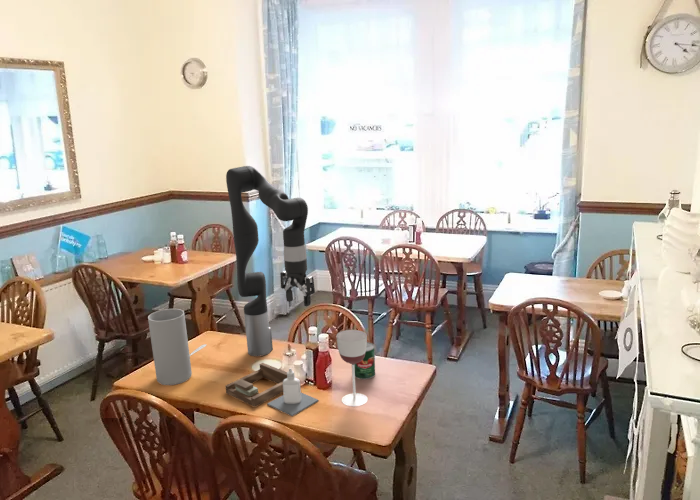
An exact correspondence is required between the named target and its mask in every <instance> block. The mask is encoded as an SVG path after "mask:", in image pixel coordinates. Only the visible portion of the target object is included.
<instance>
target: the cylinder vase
mask: <svg viewBox="0 0 700 500" xmlns="http://www.w3.org/2000/svg"><path fill="white" fill-rule="evenodd" d="M185 316H186V314H185V311H184V310H182V309H180V308H165V309H161V310H156V311H154V312H152V313H150V314H149V315H148V316H147V319H148V320H147V321H148V322H147V323H148V328H149V334H150V342H151V348H152V357H153V365H154V370H155V377H156V381H157V383H159V384H160V385H162V386H175V385H179V384H182V383H185V382H186V381H188V380H190V378H191V377H192V374H193V372H192V363H191V356H190V349H189V340H188V334H187V333H188V331H187V324H186V317H185Z"/></svg>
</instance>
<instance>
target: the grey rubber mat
mask: <svg viewBox="0 0 700 500" xmlns="http://www.w3.org/2000/svg"><path fill="white" fill-rule="evenodd" d="M319 401H320V400H319V399H318V398H316V397H313V396H311V395H308V394H306V393H304V392H301V402H300V403H296V404H287V403H285V402H284V395H280V396H278V397H277V398H275V399H273V400H271V401H269V402H267V406H269V407H271V408H273V409H275V410H278V411H280V412H281V413H284V414H286V415H288V416H291V417H294V416H296V415H297V414H300V413H301V412H303V411H304V410H307V409H308V408H310V407H311V406H313V405H314V404H316V403H318V402H319Z"/></svg>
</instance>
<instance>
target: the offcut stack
mask: <svg viewBox="0 0 700 500" xmlns="http://www.w3.org/2000/svg"><path fill="white" fill-rule="evenodd" d="M235 387H236V388H235V389H234V390H236V391H238V392H240V393H242V394H244V395H247V396H249V397H253V396H255V395H257V394H259V388H258V387H256V386H254V383H249V382H247V381H244V380H240V381H237V382H235Z"/></svg>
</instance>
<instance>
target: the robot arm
mask: <svg viewBox="0 0 700 500" xmlns="http://www.w3.org/2000/svg"><path fill="white" fill-rule="evenodd" d="M225 177H226V178H225V181H226V188H227V193H228V198H229V205H230V211H231V221H232V222H231V223H232V235H233V244H234V249H235V250H234V251H235V258H236V279H237V290H238V291H237V292H238V294H239V296H240V297H241V298H248V297H256V298H254V299H253V300H251V301H249V302H248V303H246V304H244V306H243V313H244V325H245V334H246V335H245V336H246V345H247V346H246V347H247V354H248V355H249V356H252V357H263V356H266V355H268V354H270V353H271V351H272V350H273V347H274V346H273V337H272V336H273V334H272V328H271V327H270V325H269V313H268V304H267V301H268V300H267V281H266V275H265V273H264V272H263V271H256V272H255V271H254V272H253V271H252V272H246V270H247V266H248V263H249V260H250V259H251V258H252V256H253V254H254V253H255V251H256V249H257V247H258V244H259V228H258V224H257V222H256V220H255V219H254V217H253V216H252V215H251V214H250V213H249V211H248V210H247V208H246V207H245V205H244V202H243V198H242V197H243V196H242V194H243V193H249V192H252V191H258V198H259V199H260V200H259V201H260V202H261V203H262V204H264V205H265V207H266V206H267V207H268V208H269V209H271V210H272V211H273V213H274V215H275V217H277V219H278V220H280V221H282V222H290V221H292V223H291V224H290V225H289V226H287V227H285V228H284V229H283V231H282V237H283V238H282V239H283V261H284V270H283V271H281V272H279V273H280V274H279V275H280V276H279V277H280V288H281V289H282V290H284V291H285V299H286V302H288V303H290V302H293V300H294V295H293V293H294V292H293V288H294V287H296V288H297V289H298V290H299V291H300V292H301V293H302V294H303V306H304V307H309V306H310V305H311V302H312V301H311V295H314V294H315V293H316V289H315V282H314V281H315V280H314V276H312V275H311V276H307V274H306V273H307V271H308V262H307V261H308V260H307V249H306V248H307V247H306V241H305V240H306V239H305V228H306V224H307V219H308V214H309V207H308V203H307V202H306V200H305V199H304V198H302V197H294V198H289V196H288V194H287V193H285V192H284V191H282V190H281V189H279V188H278V187H276V186H274V185H272V184H271V183H270V182H269V181H268V180H267V179H266V177H265V176H264V175H262V173H261V172H260V171H259V170H258V169H257V168H255V167H253V166H250V165H243V166H238V167H233V168H230V169H228V170H227V172H226V174H225Z"/></svg>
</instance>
